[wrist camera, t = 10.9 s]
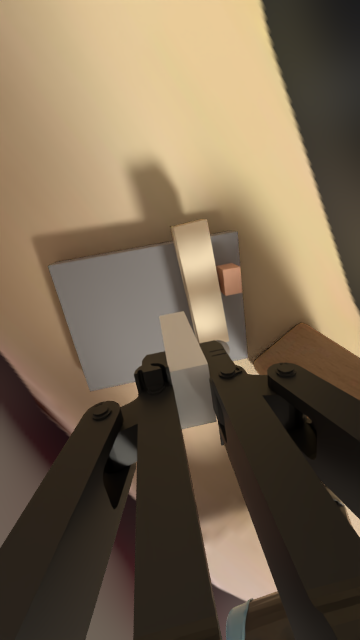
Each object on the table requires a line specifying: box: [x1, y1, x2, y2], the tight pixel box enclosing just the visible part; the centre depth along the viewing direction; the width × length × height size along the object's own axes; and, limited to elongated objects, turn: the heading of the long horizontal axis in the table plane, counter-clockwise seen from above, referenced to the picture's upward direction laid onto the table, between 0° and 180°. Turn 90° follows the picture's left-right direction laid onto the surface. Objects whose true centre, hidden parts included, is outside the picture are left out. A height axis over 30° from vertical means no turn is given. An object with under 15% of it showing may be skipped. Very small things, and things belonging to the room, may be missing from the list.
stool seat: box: [48, 231, 248, 391], centre depth 35 cm, size 17×22×6 cm
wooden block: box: [254, 323, 360, 418], centre depth 34 cm, size 10×10×20 cm
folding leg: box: [170, 219, 230, 355], centre depth 32 cm, size 17×4×4 cm, turn 13°
